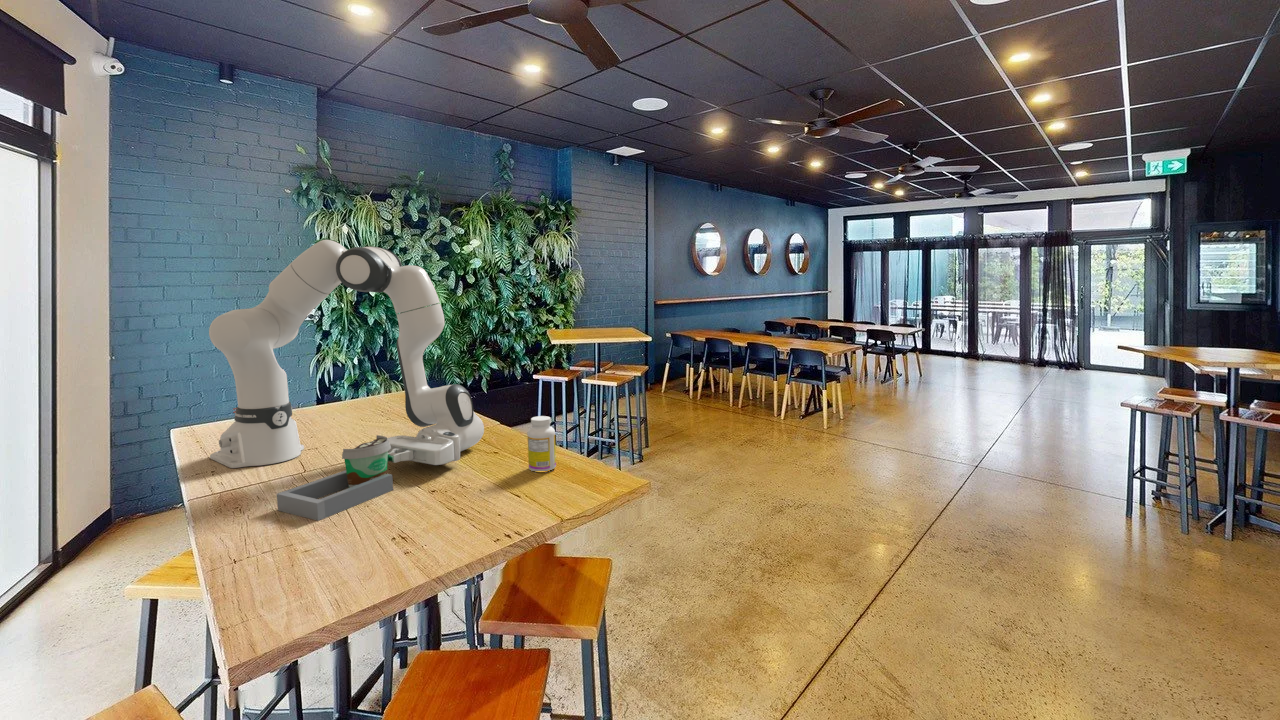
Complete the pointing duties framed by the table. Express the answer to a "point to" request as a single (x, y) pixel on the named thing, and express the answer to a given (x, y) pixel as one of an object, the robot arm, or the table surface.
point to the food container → (366, 461)
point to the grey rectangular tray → (307, 495)
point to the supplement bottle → (541, 444)
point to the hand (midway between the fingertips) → (389, 458)
